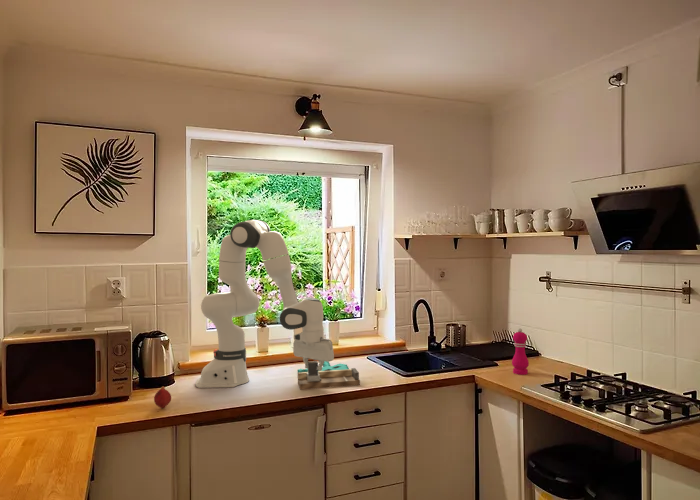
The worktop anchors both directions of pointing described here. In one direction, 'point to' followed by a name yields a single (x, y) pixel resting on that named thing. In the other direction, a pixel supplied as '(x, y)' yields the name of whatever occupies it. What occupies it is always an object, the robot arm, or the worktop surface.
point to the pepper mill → (520, 354)
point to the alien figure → (328, 367)
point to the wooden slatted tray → (330, 379)
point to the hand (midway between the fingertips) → (313, 369)
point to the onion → (162, 398)
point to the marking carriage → (312, 372)
